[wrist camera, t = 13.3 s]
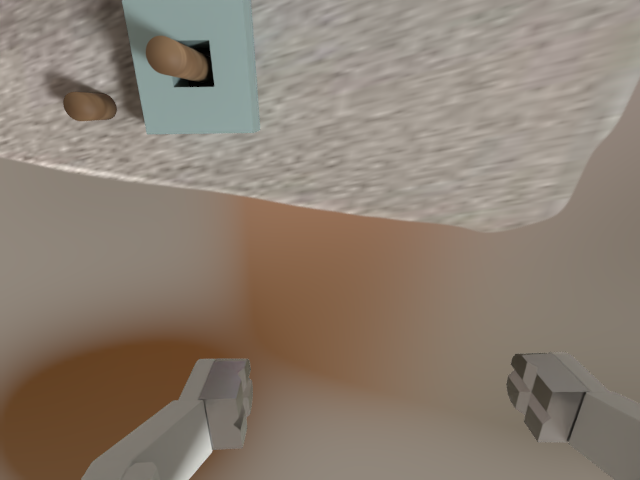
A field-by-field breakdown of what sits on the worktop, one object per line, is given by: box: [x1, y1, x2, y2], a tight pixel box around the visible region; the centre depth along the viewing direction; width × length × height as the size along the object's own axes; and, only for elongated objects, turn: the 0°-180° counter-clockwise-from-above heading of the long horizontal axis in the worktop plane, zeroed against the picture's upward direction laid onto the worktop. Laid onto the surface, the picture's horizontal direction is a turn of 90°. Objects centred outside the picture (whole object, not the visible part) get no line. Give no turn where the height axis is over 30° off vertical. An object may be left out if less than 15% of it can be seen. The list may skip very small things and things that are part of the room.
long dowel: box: [146, 36, 214, 83], centre depth 35 cm, size 3×3×12 cm
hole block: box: [122, 0, 260, 134], centre depth 38 cm, size 14×12×5 cm
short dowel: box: [63, 92, 117, 121], centre depth 40 cm, size 3×3×5 cm
